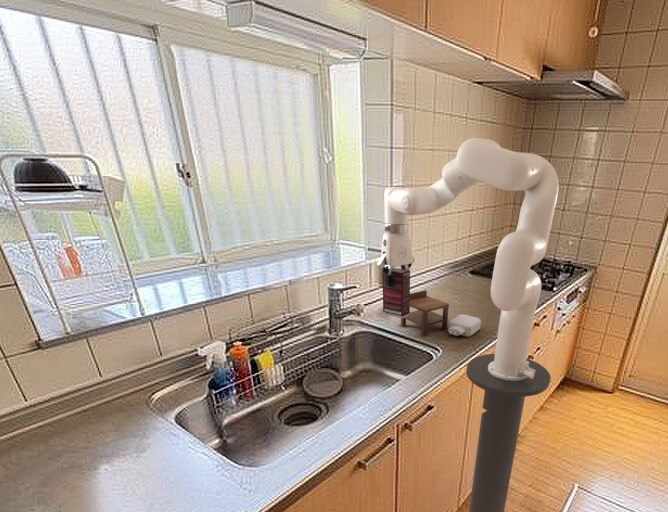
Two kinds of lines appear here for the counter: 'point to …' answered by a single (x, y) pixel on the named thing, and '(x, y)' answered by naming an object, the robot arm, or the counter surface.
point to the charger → (464, 325)
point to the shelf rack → (426, 311)
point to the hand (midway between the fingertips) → (396, 284)
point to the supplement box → (397, 294)
